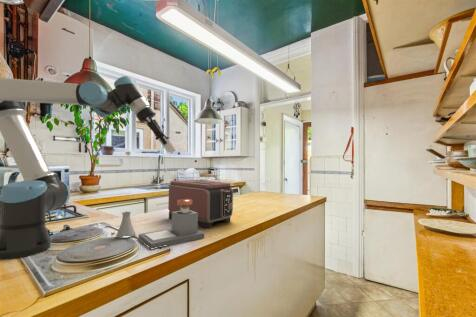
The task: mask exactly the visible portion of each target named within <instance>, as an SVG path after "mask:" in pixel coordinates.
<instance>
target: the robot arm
mask: <svg viewBox="0 0 476 317" xmlns="http://www.w3.org/2000/svg"><path fill="white" fill-rule="evenodd" d="M113 86H114V88H113V89H112V90H110V91H108V90H107V89H106V88H105V87H103V85H101V84H99V83H97V82H96V81H86V82H83V83H70V82H62V81H61V82H58V81H48V80H47V81H46V80H35V79H34V80H32V79H22V78H21V79H19V78H8V77H7V78H6V77H0V133H1V134H0V135H1V136H2V138H3V140H4V142H5V144H6V146H7V149H8V150H9V152H10V154H11V156H12V158H13V161H14V162H15V164H16V167H17V168H18V171H19V173H20V174H21V176H22V178H23V181H15V182H9V183H7V184H5V185H3V186H2V187H1V189H0V260H10V259H19V258H24V257H28V256H33V255H36V254H40V253H41V252H44V251H46V250H49V249H50V247H51V246H50V245H52V244H51V243H52V240H51V237H50V236H51V235H50V234H49V232H48V229H47V227H46V213H49V212H53V211H56V210H58V209H60V208H62V207H64V206H65V205H66V204H67V203H68V202H69V200H70V197H71V189H70V187H69V185H68V184H67V183H66V182H64V181H61V180H60V178H59V176H58V174H57V172H54V171H51V169H50V168H49V166H48V163H47V161H46V159H45V157H44V155H43V153H42V151H41V149H40V147H39V145H38V143H37V140H36V139H35V136H34V135H33V132H32V130H31V129H30V128H31V127H30V126H29V124H28V122H27V120H26V119H25V117H26V115H27V114H28V111H27V110H26V109H27V107H28V103H37V104H38V103H40V104H57V105H59V104H60V105H73V106H74V105H76V106H90V107H91V108H92V110H93V111H94V112H95V113H96V115H98V116H99V117H101V118H106V117H108V116H110V115H112V114H114V113H115V112H116V111H118V110H120V109H122V108H123V107H125V106H127V105H128V107H129V108H130V111H132V112H133V114H134V115H135V117H136V118H137V119H138V121H139V123H146V125H147V127H148V128H149V129H150V130H151V131H152V132H153V134H154V135H155V139H156V141H159V142H160V144H161V146H162V147H163V148H164V149H165V151H166V152H167V154H169V153H170V154H173V153H174V152H176V151H177V150H176V148H175V147H174V146H173V144H172V143H171V141H170V140H169V138H170V137H169V136H166V134H165V133H164V132H163V131H162V129H161V126H160V125H159V123H158V121H157V120H156V119H153V118H154V117H155V116H156V115H157V114H156V113H157V112H155V110H154V109H153V107H152V106H151V104H150V102H149V99H147V98H146V97H145V96H144V95H143V93H142V91H141V90H140V89H139V87H138V86H137V84H136V83H135V82H134V80H133V79H132V77H131V76H127V75H122V76H120V77H118V78H117V79H116V80H115V81H114V82H113Z"/></svg>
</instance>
